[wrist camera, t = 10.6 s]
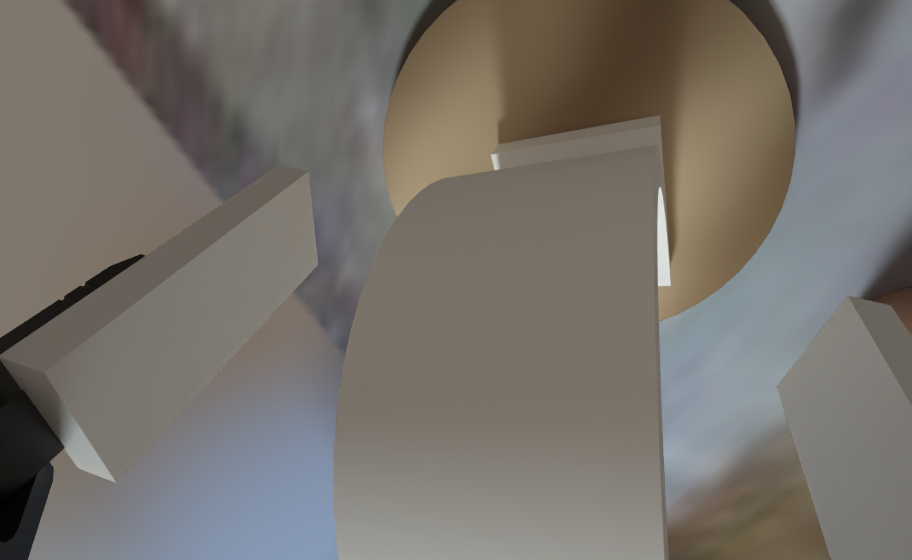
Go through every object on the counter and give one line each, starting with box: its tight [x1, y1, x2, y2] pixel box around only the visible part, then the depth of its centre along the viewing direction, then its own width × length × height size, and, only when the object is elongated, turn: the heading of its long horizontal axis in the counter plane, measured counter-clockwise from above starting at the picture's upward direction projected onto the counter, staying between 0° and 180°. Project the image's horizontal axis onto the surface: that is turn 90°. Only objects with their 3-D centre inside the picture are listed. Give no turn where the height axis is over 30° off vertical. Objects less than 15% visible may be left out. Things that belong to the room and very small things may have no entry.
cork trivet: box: [383, 0, 795, 321], centre depth 15 cm, size 12×12×1 cm
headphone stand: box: [333, 115, 671, 560], centre depth 10 cm, size 5×6×12 cm
